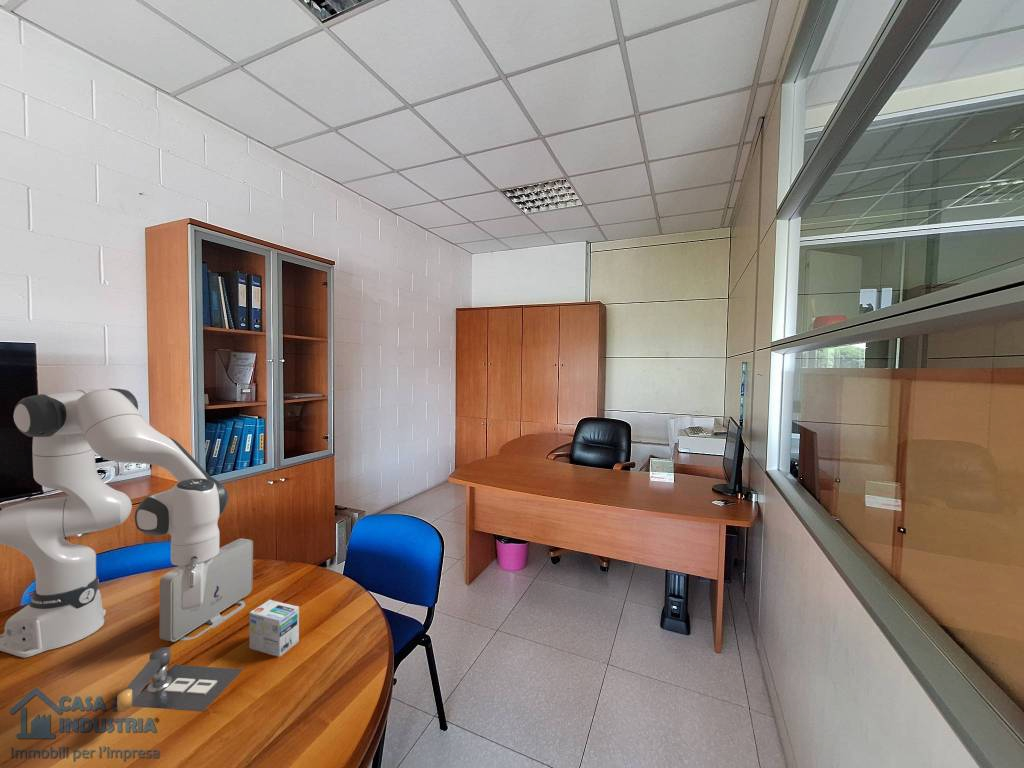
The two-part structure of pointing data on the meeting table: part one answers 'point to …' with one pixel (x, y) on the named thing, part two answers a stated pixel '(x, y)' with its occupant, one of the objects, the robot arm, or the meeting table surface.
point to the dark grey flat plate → (188, 699)
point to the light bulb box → (274, 627)
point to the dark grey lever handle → (143, 678)
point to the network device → (208, 592)
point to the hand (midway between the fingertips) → (195, 607)
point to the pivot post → (159, 680)
